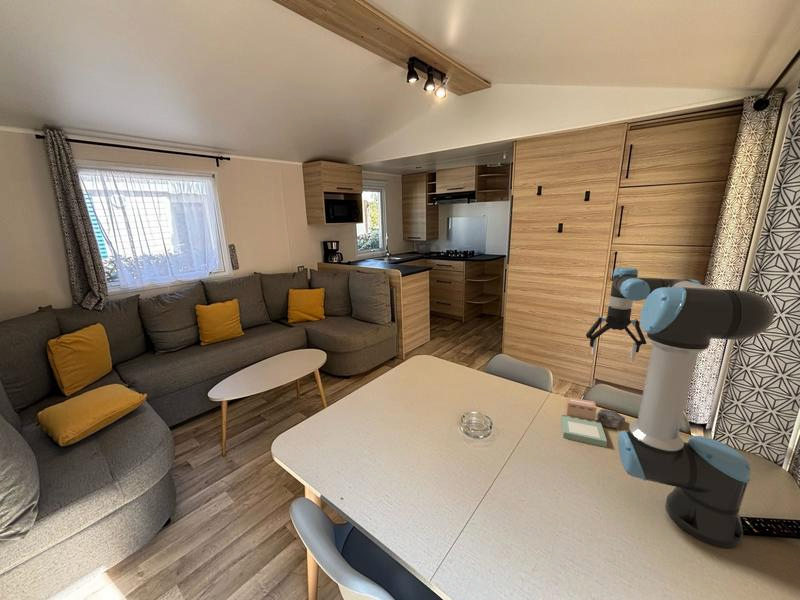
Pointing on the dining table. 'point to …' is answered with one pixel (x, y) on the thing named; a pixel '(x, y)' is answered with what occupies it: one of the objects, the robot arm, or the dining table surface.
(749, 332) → the robot arm
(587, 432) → the green picture frame
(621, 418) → the rock
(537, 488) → the dining table surface
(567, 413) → the pinkish brown box
